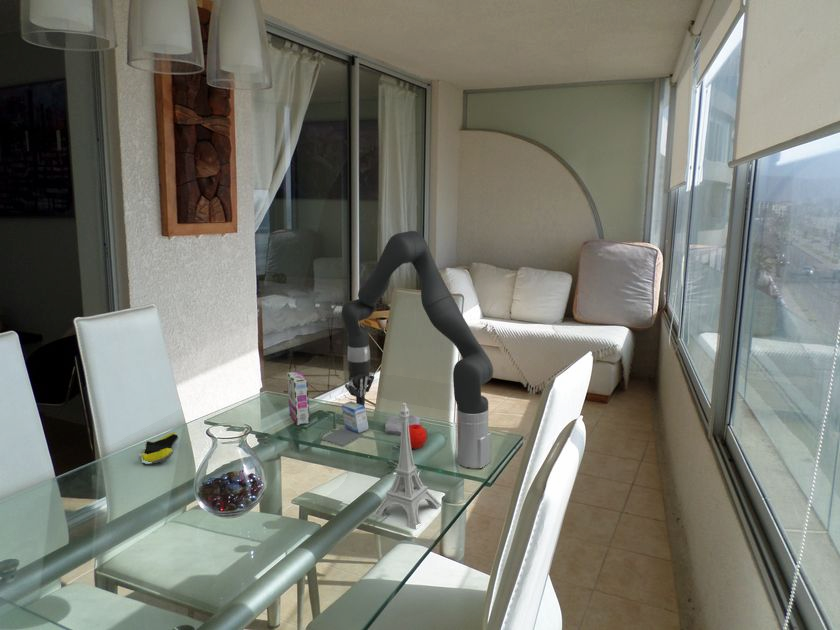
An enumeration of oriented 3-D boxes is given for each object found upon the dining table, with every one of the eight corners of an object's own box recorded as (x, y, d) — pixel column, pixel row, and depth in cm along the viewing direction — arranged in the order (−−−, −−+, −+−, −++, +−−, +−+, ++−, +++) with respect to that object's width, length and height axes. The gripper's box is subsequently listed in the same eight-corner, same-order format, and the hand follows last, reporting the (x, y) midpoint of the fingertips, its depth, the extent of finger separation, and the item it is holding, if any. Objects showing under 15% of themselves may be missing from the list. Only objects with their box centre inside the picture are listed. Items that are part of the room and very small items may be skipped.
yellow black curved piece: (180, 446, 214) (148, 449, 212) (178, 430, 213) (145, 433, 211) (173, 466, 200) (138, 470, 198) (171, 450, 198) (136, 453, 196)
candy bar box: (311, 423, 229) (307, 379, 225) (296, 426, 227) (293, 381, 223) (302, 412, 239) (299, 370, 235) (289, 415, 237) (285, 372, 233)
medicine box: (344, 428, 224) (340, 405, 222) (355, 423, 227) (351, 400, 225) (358, 433, 218) (354, 409, 216) (369, 428, 221) (365, 405, 219)
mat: (363, 435, 218) (363, 434, 218) (343, 446, 210) (343, 445, 210) (341, 429, 224) (341, 428, 223) (320, 439, 216) (320, 438, 216)
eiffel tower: (372, 516, 169) (367, 407, 162) (399, 493, 180) (396, 391, 173) (416, 530, 163) (412, 417, 155) (442, 505, 174) (440, 399, 167)
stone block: (419, 441, 217) (421, 423, 226) (418, 429, 215) (420, 412, 224) (384, 442, 218) (387, 424, 227) (382, 430, 216) (385, 413, 225)
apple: (410, 439, 214) (409, 418, 212) (431, 444, 210) (431, 422, 208) (398, 449, 207) (397, 427, 205) (420, 454, 203) (419, 432, 202)
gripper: (354, 365, 212) (356, 414, 217) (380, 354, 222) (381, 402, 227) (337, 361, 217) (339, 409, 221) (363, 350, 227) (365, 397, 231)
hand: (360, 405), depth 224 cm, fingers closed
